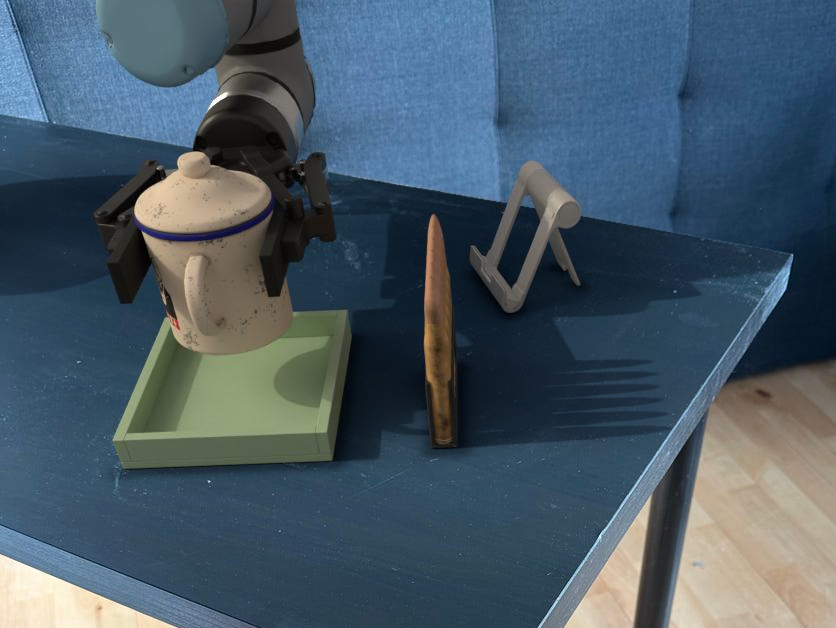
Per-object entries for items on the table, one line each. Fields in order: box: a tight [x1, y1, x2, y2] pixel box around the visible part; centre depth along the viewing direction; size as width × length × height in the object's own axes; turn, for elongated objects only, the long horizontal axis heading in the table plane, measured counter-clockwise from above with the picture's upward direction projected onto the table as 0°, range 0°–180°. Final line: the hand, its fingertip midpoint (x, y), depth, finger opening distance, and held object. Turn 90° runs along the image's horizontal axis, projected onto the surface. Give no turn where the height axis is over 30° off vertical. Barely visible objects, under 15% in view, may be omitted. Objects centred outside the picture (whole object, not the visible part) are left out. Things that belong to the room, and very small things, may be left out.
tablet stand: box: [469, 160, 582, 314], centre depth 78 cm, size 9×8×8 cm
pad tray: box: [112, 309, 353, 470], centre depth 69 cm, size 15×17×2 cm
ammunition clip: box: [423, 213, 459, 449], centre depth 64 cm, size 11×2×12 cm, turn 1°
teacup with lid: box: [134, 151, 294, 355], centre depth 62 cm, size 12×9×12 cm
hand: (194, 280), depth 59 cm, fingers closed on teacup with lid, 9 cm apart
